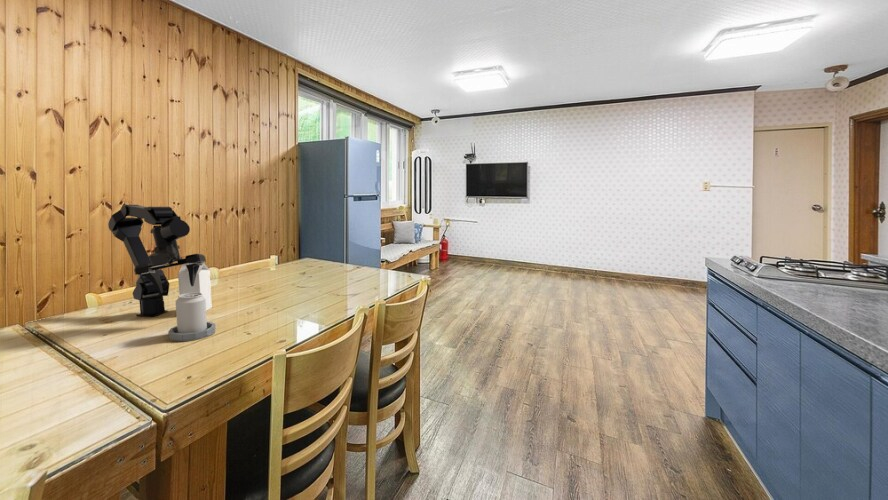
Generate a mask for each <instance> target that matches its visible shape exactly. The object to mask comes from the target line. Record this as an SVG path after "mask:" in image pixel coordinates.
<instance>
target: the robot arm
mask: <svg viewBox="0 0 888 500" xmlns="http://www.w3.org/2000/svg"><path fill="white" fill-rule="evenodd" d="M144 222H145V223H146V224H148V225H152V226H153V227H152V229H150V231H149V232H150V234H152V235H153V241H154V243H155V247H154V252H152V254H150V255H149V253H148V252H147V250H146V247H145V246H144V244H143V242H142V239H141V237H140V235H141V231H142V226H143V224H144ZM107 224H108V225H107V226H108V227H107V228H108V230H109V231H110V232H111V233H112V235H113V237H115V238H116V239H117V240H119V241H121V242H123V245H124V247H125V249H126V251H127V253H128V256H129V257H130V260H131V262H132V264H133V266H134V268H133V272H134V275H138V276H137V279H136V282H135V284H136V285H135V286H134V289H133V292H132V296H133V299H134V300H138V301H139V310H140V311H139V313H136V316H137V317H146V318H148V317H150V318H153V317H157V316H159V315H162V314H166V313H168V312H169V310H167V309H165V301H164V297H165V296H167V297H168V296H169V291H170V290H169V289H170V282H169V280H168V279H167V277H166V275H165V272H164V270H163V269H166V268H167V269H168V268H173V267H178V266H182V265H183V264H187V263H188V264H189V265H186V267H187V269H188V272H189V279H190V284H191V286H194V283H195V279H196V275H197V272H198V269H199V266H201V265H202V264H201V263H203V262H204V263H206V262H207V260H206V256H205V255H204V254H202V253H194V254H188V255H185V256H184V257H185V258H183V257H181V254H180V250H179V249H180V248H181V247H180V245H178V241H177V240H179V239H181V238H184V237H186V236H188V234H189V233H190V230H191V228H190V225H189V224H188V223H187V222H186V221H184V220H183V219H182V218H181V216H180V215H178V214H177V213H176V212H175V210H173V208H172V207H171V206H144V205H139V204H123V205H122V206H121V208H120V210H118V211H116V212H115V213H113V214H112V215H111V216H110V218H109V220H108V223H107Z"/></svg>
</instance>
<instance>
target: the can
mask: <svg viewBox="0 0 888 500" xmlns="http://www.w3.org/2000/svg"><path fill="white" fill-rule="evenodd" d="M202 295H203V294H202V293H185V294H181V295H178V296H177V299H176V300H175V313H176V314H175V315H176V326H177V330H178V333H181V334H186V333H195V332H199V331H203V330H205V329H206V328H207V322H208V321H207V320H208V319H207V311H206V301H205V297H203V296H202Z"/></svg>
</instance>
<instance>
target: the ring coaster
mask: <svg viewBox="0 0 888 500" xmlns="http://www.w3.org/2000/svg"><path fill="white" fill-rule="evenodd" d="M215 333H216V323H214V322H213V321H207V328H206V329H205V330H203V331H199V332H195V333H186V334H181V333H178V330H177V325H176V326H173V327H171V328H170V329H169V330H168V337H169V339H170V340H171V341H173V342H191V341H192V342H193V341H197V340H201V339H205V338H208V337H211V336H212V335H214V334H215Z"/></svg>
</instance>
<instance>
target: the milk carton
mask: <svg viewBox="0 0 888 500" xmlns="http://www.w3.org/2000/svg"><path fill="white" fill-rule="evenodd" d="M201 264H202V265H201V266H199V269H198V272H197V275H196V279H195V283H194V286H191V284H190V279H189V272H188V269H187V267H186V265H189V264H188V263H187V264H183V265H181V267H180V269H179V271H178V273H177V278H178V292H179V295H181V294H185V293H202V294H203V295H202V296H203V297H205V301H206V312H207V311H209V310H211V309H213V307H212V304H213V303H212V302H213V301H212V290H211V289H212V287H211V269H210V268H209V267H208V266H207V265H206V264H205V262H203V263H201ZM179 295H178V296H179Z"/></svg>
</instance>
